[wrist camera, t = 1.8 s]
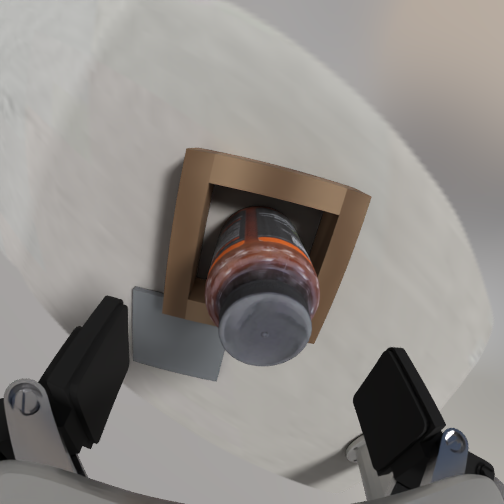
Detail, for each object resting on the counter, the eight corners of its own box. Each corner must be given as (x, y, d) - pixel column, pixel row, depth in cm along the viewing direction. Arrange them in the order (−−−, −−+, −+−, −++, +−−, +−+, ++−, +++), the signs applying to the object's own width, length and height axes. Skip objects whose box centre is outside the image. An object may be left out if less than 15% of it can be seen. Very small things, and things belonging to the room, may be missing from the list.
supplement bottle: (212, 266, 23) (184, 367, 12) (229, 195, 21) (204, 252, 10) (284, 283, 23) (304, 388, 13) (306, 215, 21) (356, 288, 11)
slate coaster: (234, 309, 24) (233, 313, 24) (217, 377, 27) (216, 381, 27) (135, 286, 23) (133, 289, 23) (135, 357, 27) (133, 360, 26)
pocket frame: (353, 187, 20) (371, 196, 17) (307, 318, 24) (313, 343, 21) (197, 147, 19) (186, 148, 16) (173, 290, 23) (162, 313, 20)
